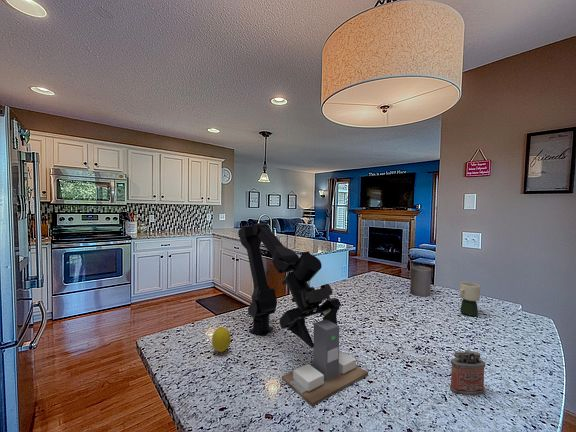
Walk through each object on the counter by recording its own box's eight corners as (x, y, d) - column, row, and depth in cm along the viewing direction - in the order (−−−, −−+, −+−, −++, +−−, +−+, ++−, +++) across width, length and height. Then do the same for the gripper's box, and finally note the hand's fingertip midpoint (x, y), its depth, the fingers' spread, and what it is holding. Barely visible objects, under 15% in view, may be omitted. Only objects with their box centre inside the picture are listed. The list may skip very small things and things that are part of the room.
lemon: (223, 345, 89) (223, 321, 89) (234, 351, 86) (234, 326, 85) (208, 352, 85) (208, 327, 84) (219, 359, 81) (219, 332, 81)
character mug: (470, 309, 123) (472, 280, 122) (486, 316, 116) (487, 285, 115) (451, 312, 119) (452, 282, 119) (466, 319, 113) (468, 287, 112)
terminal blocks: (293, 378, 71) (293, 370, 71) (339, 357, 81) (339, 350, 81) (308, 391, 66) (308, 382, 66) (355, 367, 76) (355, 359, 76)
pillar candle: (406, 291, 148) (407, 263, 147) (422, 290, 150) (423, 263, 149) (417, 297, 139) (418, 268, 138) (435, 296, 140) (436, 267, 139)
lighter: (477, 386, 70) (479, 347, 70) (487, 395, 67) (489, 355, 67) (446, 386, 70) (448, 347, 70) (455, 395, 67) (456, 355, 66)
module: (313, 370, 74) (313, 323, 74) (325, 365, 77) (326, 319, 76) (326, 381, 70) (327, 330, 69) (338, 375, 72) (339, 326, 72)
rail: (289, 383, 69) (289, 381, 69) (344, 358, 81) (344, 356, 81) (302, 394, 65) (302, 392, 65) (357, 366, 77) (357, 364, 77)
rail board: (281, 379, 72) (281, 376, 72) (335, 355, 84) (335, 352, 84) (311, 406, 63) (312, 403, 63) (368, 375, 74) (368, 372, 74)
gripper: (286, 280, 71) (314, 339, 63) (337, 270, 82) (366, 320, 74) (269, 301, 78) (292, 357, 69) (318, 290, 89) (343, 337, 80)
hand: (326, 342), depth 73 cm, fingers open, 9 cm apart
